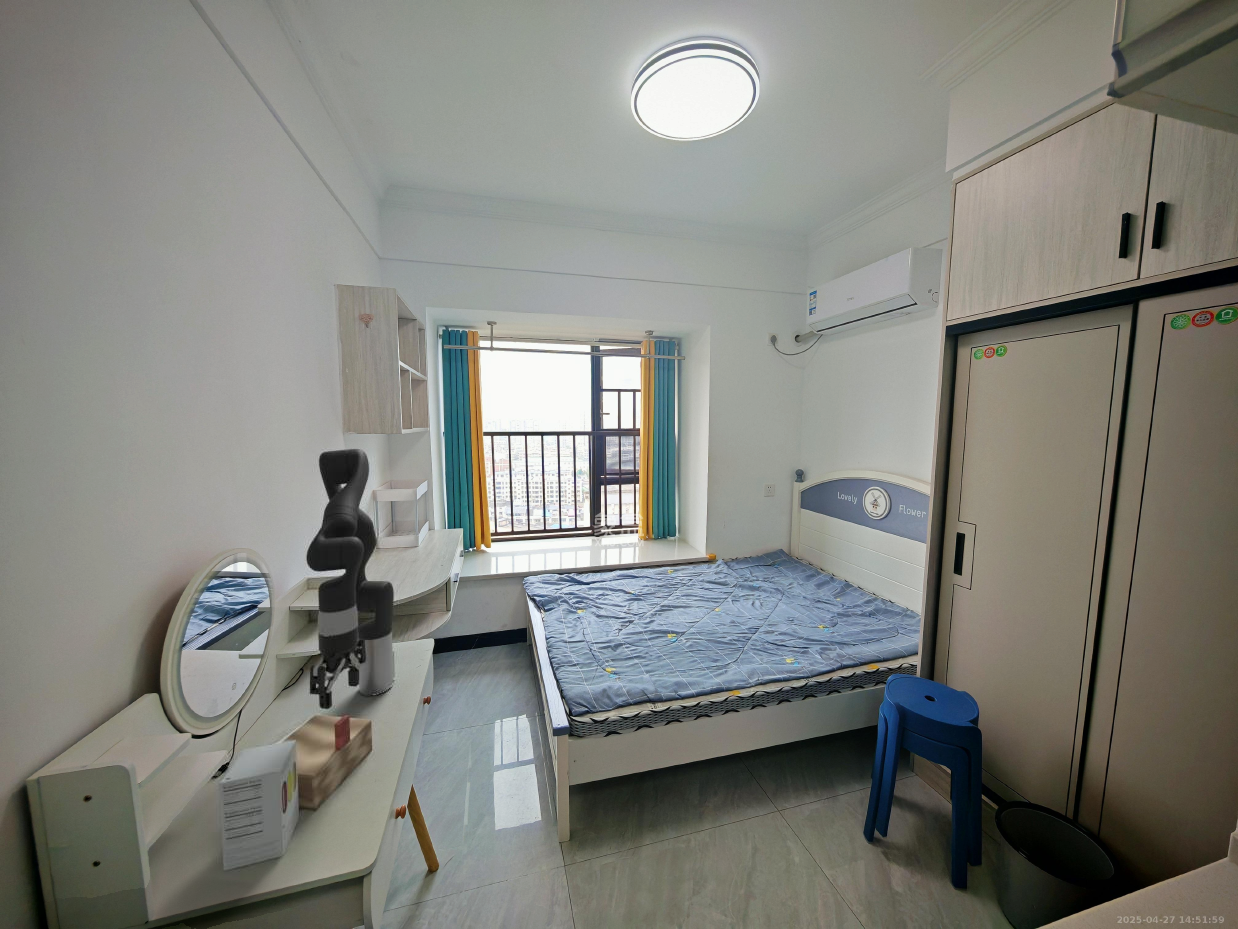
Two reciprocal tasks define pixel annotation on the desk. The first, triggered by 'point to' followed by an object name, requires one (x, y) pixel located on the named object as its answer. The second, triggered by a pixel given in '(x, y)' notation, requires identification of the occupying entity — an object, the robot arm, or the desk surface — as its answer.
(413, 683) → the desk surface
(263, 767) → the supplement box
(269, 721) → the desk surface
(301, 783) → the mailer base
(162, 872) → the desk surface
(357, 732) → the lid
